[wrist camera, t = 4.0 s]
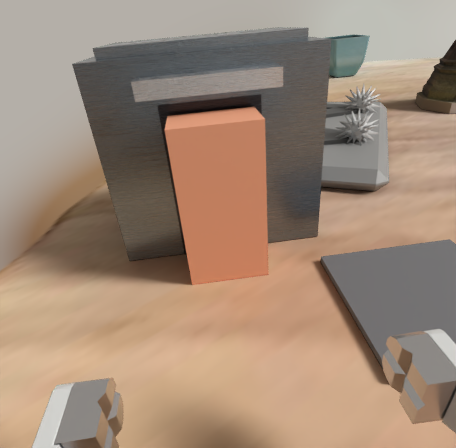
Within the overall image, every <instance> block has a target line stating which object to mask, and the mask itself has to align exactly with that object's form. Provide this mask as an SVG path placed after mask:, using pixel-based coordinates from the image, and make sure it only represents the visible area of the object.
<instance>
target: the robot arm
mask: <svg viewBox="0 0 456 448" xmlns="http://www.w3.org/2000/svg"><path fill="white" fill-rule="evenodd" d="M386 345H387V347H388V349H389V350H387V351H386V352H385V353H384V354H383V359H382V365H383V371H384V373H385V376H386V379H387V380H388V382H389V384H390V386H391V387H392V388H394V389H395V390H397V391H398V392H400V399H399V401H400V403H401V405H402V407H403V408H404V410H405V412H406V413H407V415H408V417H409V419H410V420H411V422H412V424H416V423H424V422H431V421H439V420H442V422H443V423H444V424H445V425H446V426H448V427H449V428H450V429H451V430H453V431H454V432H455V433H456V344H455V343H454V342H453V341H452V339H451V338H450V337H449V336H448V335H447V334H446V333H445V332H444V331H443V330H441V329H434V330H428V331H418V332H412V333H406V334H400V335H394V336H390V337H389V338H388V339H387V342H386ZM115 388H116V383H115V381H114V379H113V378H106V379H99V380H91V381H83V382H75V383H68V384H61V385H57V386H56V387H55V388H54V390H53V391H52V393H51V396H50V399H49V402H48V404H47V407H46V410H45V413H44V415H43V418H42V421H41V423H40V426H39V429H38V432H37V434H36V437H35V440H34V443H33V445H32V448H119V444H118V442H117V440H116V438H115V437H116V436H117V434H118V433H119V432H120V430H121V429H122V424H123V401H122V398H121V395H120V394H119V393H117V392H115Z"/></svg>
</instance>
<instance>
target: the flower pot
mask: <svg viewBox="0 0 456 448" xmlns="http://www.w3.org/2000/svg"><path fill="white" fill-rule="evenodd" d="M369 37H370V36H365V35H346V36H337V37H328V39H331V53H330V67H329V75H331V76H334V77H343V76H353V75H355V74H356V73H357V71H358V70H359V69H360V67H361V65H362V63H363V61H364V58H365V54H366V50H367V46H368V41H369Z"/></svg>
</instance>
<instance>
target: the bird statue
mask: <svg viewBox="0 0 456 448" xmlns="http://www.w3.org/2000/svg"><path fill="white" fill-rule="evenodd" d="M415 103H416V104H417V105H418V106H419V107H420V108H421V109H424V110H430V111H436V112H442V113H448V114H456V40H455V41H454V43H453V44H452V46H451V47H450V49H449V50H448V51H447V53H446V54H445V56H444V57H443V58H441V59H440V63H439V64H437V65H435V66H434V71H433V73H432V74H431V77H430V78H429V80H427V83H426V84H425V85H424V87H423V90H422V92H419V93H417V97H416V102H415Z"/></svg>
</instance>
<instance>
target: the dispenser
mask: <svg viewBox="0 0 456 448" xmlns="http://www.w3.org/2000/svg"><path fill="white" fill-rule="evenodd" d="M93 52H94V55H95V57H92V58H89V59H86V60H83V61H80V62H77V63H74V64H72V65H73V68H74V72H75V75H76V79H77V82H78V86H79V89H80V92H81V96H82V99H83V103H84V106H85V110H86V113H87V117H88V120H89V123H90V127H91V130H92V133H93V137H94V141H95V144H96V147H97V151H98V154H99V158H100V161H101V165H102V168H103V171H104V175H105V178H106V182H107V185H108V189H109V192H110V195H111V199H112V202H113V206H114V209H115V213H116V216H117V219H118V223H119V226H120V230H121V233H122V237H123V240H124V244H125V247H126V250H127V254H128V257H129V261H132V260H140V259H148V258H155V257H163V256H170V255H178V254H187V253H186V247H185V242H184V236H183V231H182V225H181V219H180V214H179V208H178V202H177V197H176V191H175V186H174V180H173V174H172V169H171V163H170V158H169V152H168V146H167V141H166V135H165V125H166V120H167V116H172V115H181V114H190V113H200V112H209V111H218V110H227V109H237V108H246V107H255V108H256V109H257V110H258V111H259V113H260V114H261V115H262V116H263V117H264V118H265V140H266V185H267V231H268V243H270V242H278V241H285V240H293V239H301V238H308V237H316V236H318V222H319V208H320V194H321V179H322V165H323V151H324V137H325V123H326V109H327V95H328V81H329V67H330V53H331V39H328V38H316V37H308V28H283V27H280V28H279V27H278V28H268V29H258V30H247V31H236V32H225V33H214V34H205V35H193V36H183V37H172V38H162V39H151V40H140V41H130V42H119V43H113V44H109V45H104V46H100V47H96V48H93Z"/></svg>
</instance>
